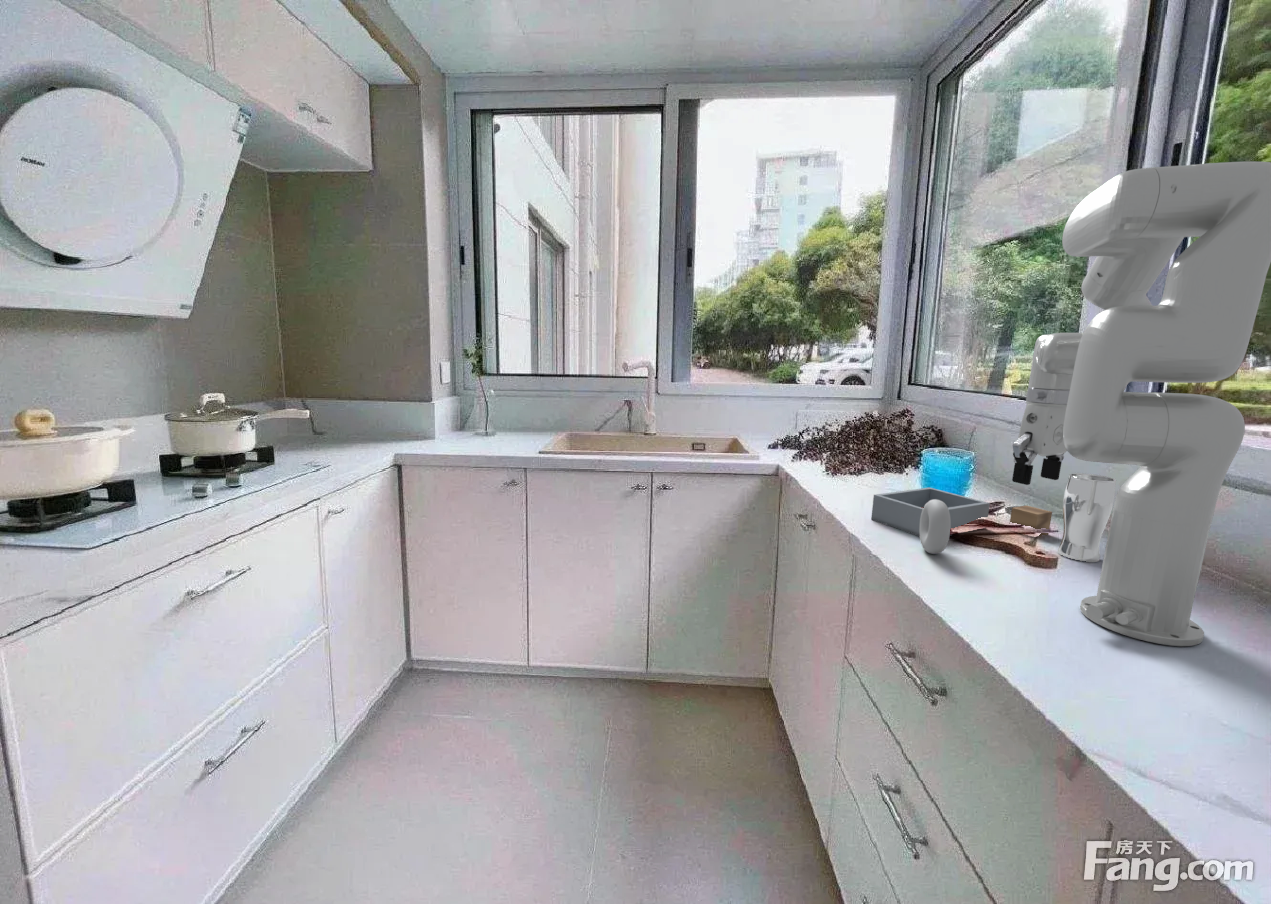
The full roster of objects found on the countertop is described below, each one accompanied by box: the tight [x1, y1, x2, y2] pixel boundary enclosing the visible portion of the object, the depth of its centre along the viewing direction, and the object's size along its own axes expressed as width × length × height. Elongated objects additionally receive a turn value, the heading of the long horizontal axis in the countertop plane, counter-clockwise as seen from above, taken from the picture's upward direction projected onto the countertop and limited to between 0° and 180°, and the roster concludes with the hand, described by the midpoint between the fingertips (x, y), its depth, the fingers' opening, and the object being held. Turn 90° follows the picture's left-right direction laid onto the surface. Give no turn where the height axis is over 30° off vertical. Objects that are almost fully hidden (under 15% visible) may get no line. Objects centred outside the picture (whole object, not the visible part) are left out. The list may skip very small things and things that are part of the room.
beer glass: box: [1057, 472, 1117, 563], centre depth 100 cm, size 7×7×15 cm
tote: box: [870, 486, 991, 537], centre depth 118 cm, size 18×14×6 cm
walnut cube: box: [1009, 504, 1053, 537], centre depth 114 cm, size 5×5×5 cm
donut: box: [919, 499, 951, 555], centre depth 101 cm, size 10×4×10 cm, turn 165°
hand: (1035, 480), depth 113 cm, fingers open, 9 cm apart
